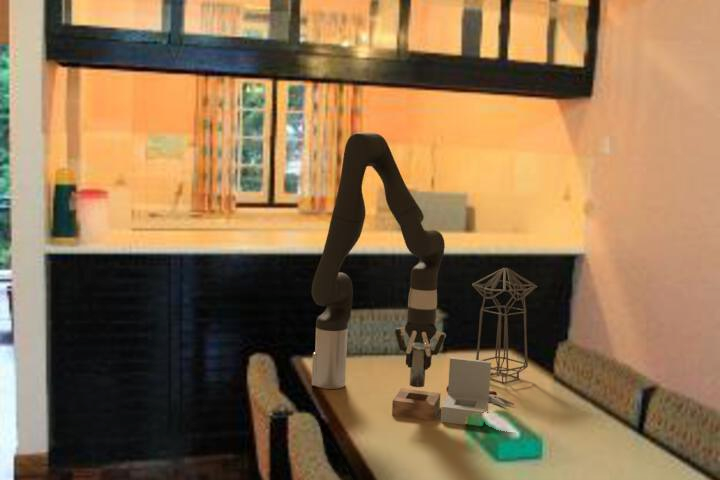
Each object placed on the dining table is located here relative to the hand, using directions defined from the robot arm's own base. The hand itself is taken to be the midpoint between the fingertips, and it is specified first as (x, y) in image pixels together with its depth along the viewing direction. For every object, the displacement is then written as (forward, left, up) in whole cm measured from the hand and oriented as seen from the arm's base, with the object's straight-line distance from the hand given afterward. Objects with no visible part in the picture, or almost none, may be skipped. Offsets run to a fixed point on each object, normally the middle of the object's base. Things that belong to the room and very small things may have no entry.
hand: (418, 367), depth 206 cm
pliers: (+14, +18, -13) cm, 26 cm away
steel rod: (0, 0, -5) cm, 5 cm away
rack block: (+13, 0, -12) cm, 18 cm away
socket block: (0, 0, -12) cm, 12 cm away
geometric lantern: (+19, +41, -12) cm, 47 cm away
